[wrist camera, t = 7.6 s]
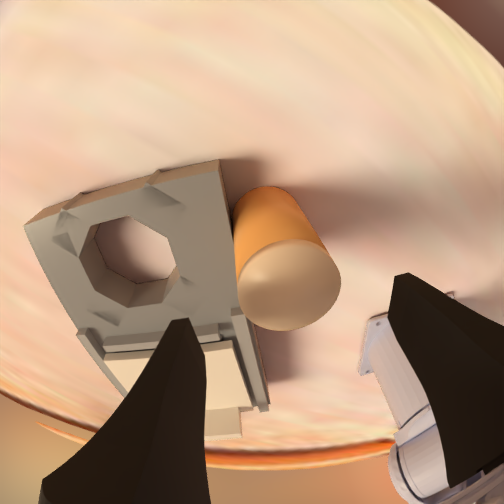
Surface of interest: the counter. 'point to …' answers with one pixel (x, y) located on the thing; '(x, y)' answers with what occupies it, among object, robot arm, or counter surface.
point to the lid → (217, 393)
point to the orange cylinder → (280, 262)
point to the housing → (155, 292)
